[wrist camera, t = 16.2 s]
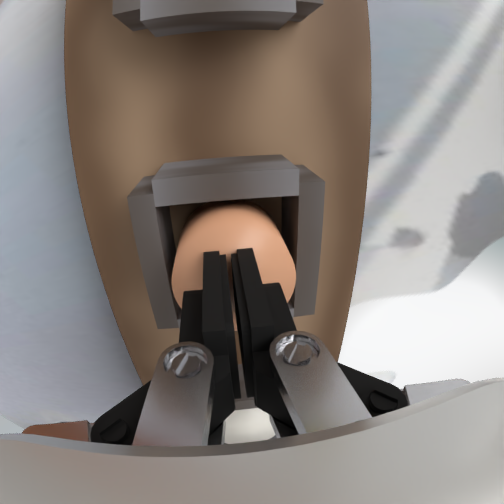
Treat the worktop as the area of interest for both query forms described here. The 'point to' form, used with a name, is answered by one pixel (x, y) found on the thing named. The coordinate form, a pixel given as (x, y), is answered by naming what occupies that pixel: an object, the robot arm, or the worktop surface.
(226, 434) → the off-white plunger
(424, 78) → the worktop surface
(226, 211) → the terracotta plunger
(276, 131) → the button board
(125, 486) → the robot arm
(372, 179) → the worktop surface
